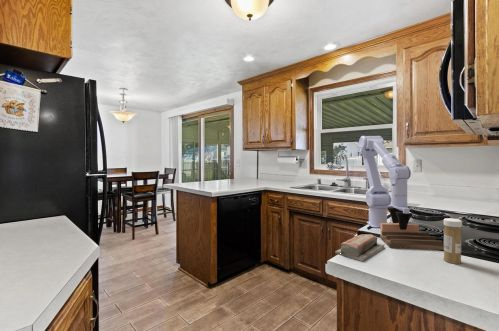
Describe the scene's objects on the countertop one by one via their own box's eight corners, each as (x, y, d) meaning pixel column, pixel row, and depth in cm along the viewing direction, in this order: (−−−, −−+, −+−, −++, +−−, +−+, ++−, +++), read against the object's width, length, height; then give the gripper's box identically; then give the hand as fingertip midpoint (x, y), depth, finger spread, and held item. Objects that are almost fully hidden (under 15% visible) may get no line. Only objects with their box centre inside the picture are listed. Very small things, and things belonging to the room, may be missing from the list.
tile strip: (380, 234, 110) (380, 222, 110) (416, 235, 108) (416, 223, 107) (382, 235, 108) (382, 224, 108) (418, 237, 105) (418, 225, 105)
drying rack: (380, 238, 104) (380, 230, 104) (428, 239, 101) (428, 232, 101) (389, 247, 94) (389, 239, 94) (444, 250, 90) (444, 241, 90)
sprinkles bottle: (464, 265, 78) (464, 221, 78) (446, 263, 80) (446, 220, 79) (457, 259, 83) (458, 218, 82) (440, 257, 84) (441, 217, 84)
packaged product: (363, 248, 82) (334, 241, 89) (363, 263, 82) (334, 254, 90) (384, 235, 94) (358, 230, 101) (384, 248, 94) (358, 242, 102)
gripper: (383, 192, 115) (383, 222, 115) (395, 197, 101) (395, 231, 101) (400, 192, 114) (400, 222, 114) (415, 197, 99) (415, 232, 100)
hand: (399, 226), depth 108 cm, fingers open, 7 cm apart
